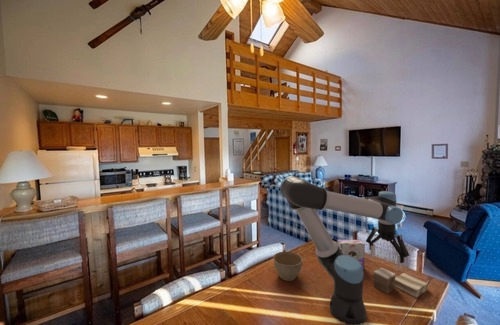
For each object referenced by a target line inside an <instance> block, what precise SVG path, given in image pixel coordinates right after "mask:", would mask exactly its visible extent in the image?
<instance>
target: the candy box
mask: <svg viewBox="0 0 500 325" xmlns="http://www.w3.org/2000/svg"><path fill="white" fill-rule="evenodd" d="M337 244H338V246H339V248H340V250H341V252H342V253H343V255H345V256H350V257H351V258H355V259H356V260H358V261H359V262H360V263H361V265H362V267H363V271H365V245H366V244H365V243H364V242H363V241H362V240H361V239H338V241H337Z"/></svg>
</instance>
